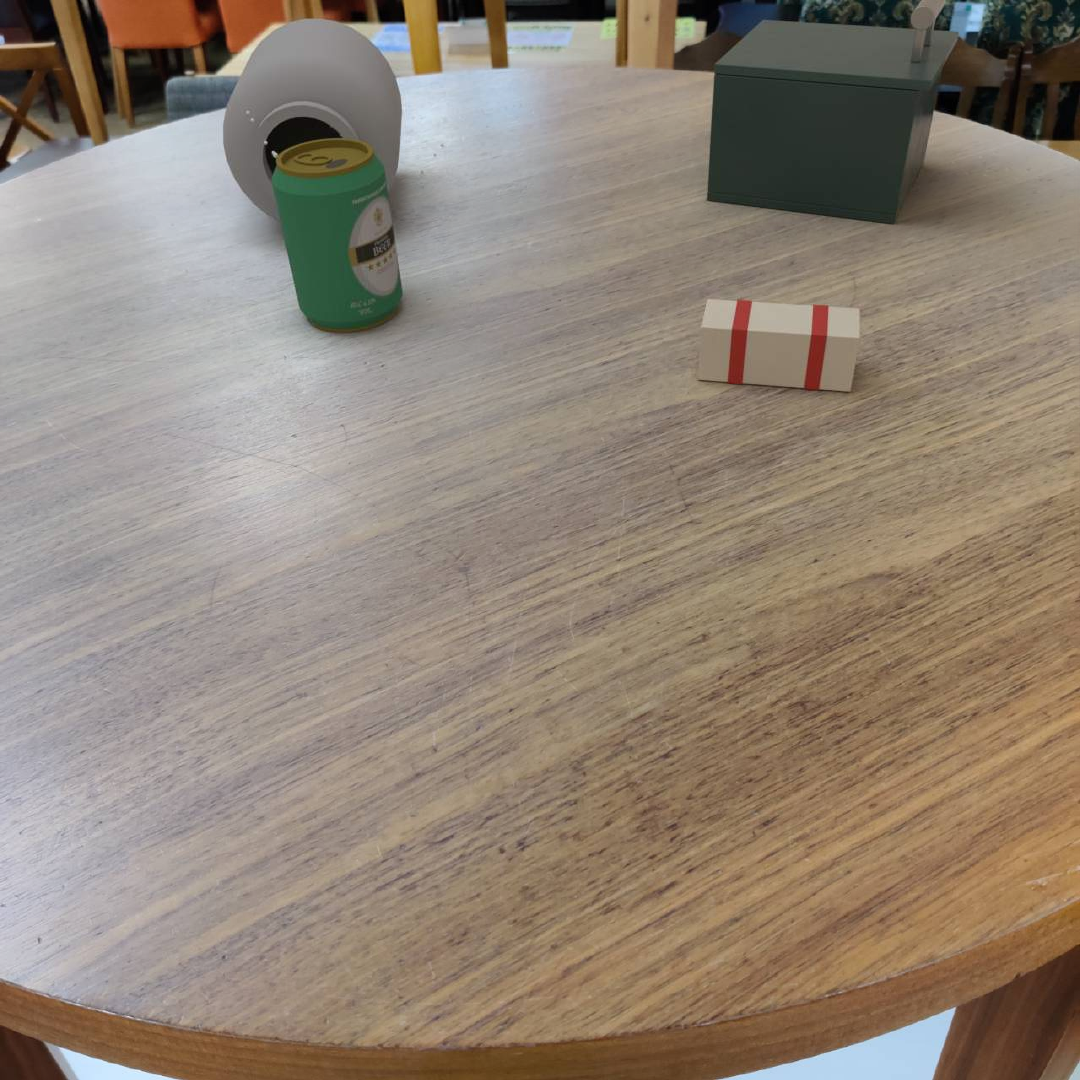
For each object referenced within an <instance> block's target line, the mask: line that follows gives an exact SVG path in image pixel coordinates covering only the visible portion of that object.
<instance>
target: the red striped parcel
mask: <svg viewBox="0 0 1080 1080" xmlns="http://www.w3.org/2000/svg"><path fill="white" fill-rule="evenodd" d="M860 311H861V309H860V308H858V307H843V306H829V305H826V304H813V305H811V304H794V303H777V302H762V301H753V300H746V299H737V300H732V299H731V300H728V299H713V298H707V300H706V305H705V309H704V313H703V317H702V321H701V325H700V337H699V355H698V356H699V357H698V370H697V380H698V381H709V382H720V383H721V382H722V383H727V384H733V385H734V384H735V385H743V384H746V385H760V386H771V387H786V388H797V389H804V390H809V391H810V390H811V391H820V390H824V391H833V392H834V391H836V392H848V393H850V392H851V391H852V386H853V380H854V374H855V370H856V369H855V368H856V362H857V357H858V351H859V345H860V340H861V316H860V315H861V313H860Z"/></svg>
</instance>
